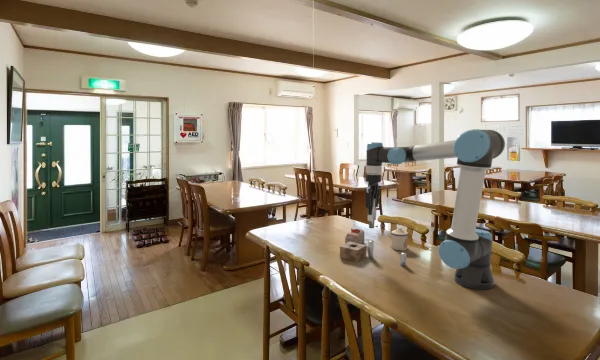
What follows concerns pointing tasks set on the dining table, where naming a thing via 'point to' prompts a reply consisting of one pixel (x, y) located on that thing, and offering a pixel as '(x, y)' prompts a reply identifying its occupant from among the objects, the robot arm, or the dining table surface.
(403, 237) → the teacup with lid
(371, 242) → the pin medium
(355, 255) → the hole block
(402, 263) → the pin short
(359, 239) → the food item
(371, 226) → the pin long
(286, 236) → the dining table surface
